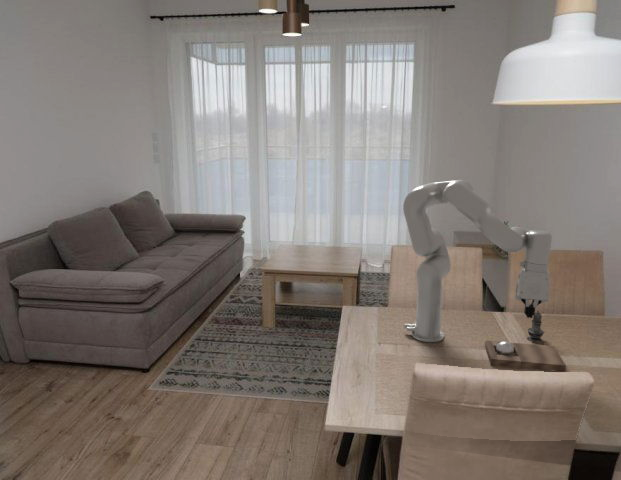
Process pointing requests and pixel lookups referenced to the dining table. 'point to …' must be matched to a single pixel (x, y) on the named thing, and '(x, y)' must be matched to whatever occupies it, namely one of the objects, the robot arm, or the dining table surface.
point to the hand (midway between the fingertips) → (528, 316)
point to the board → (526, 357)
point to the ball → (505, 348)
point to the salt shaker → (536, 328)
